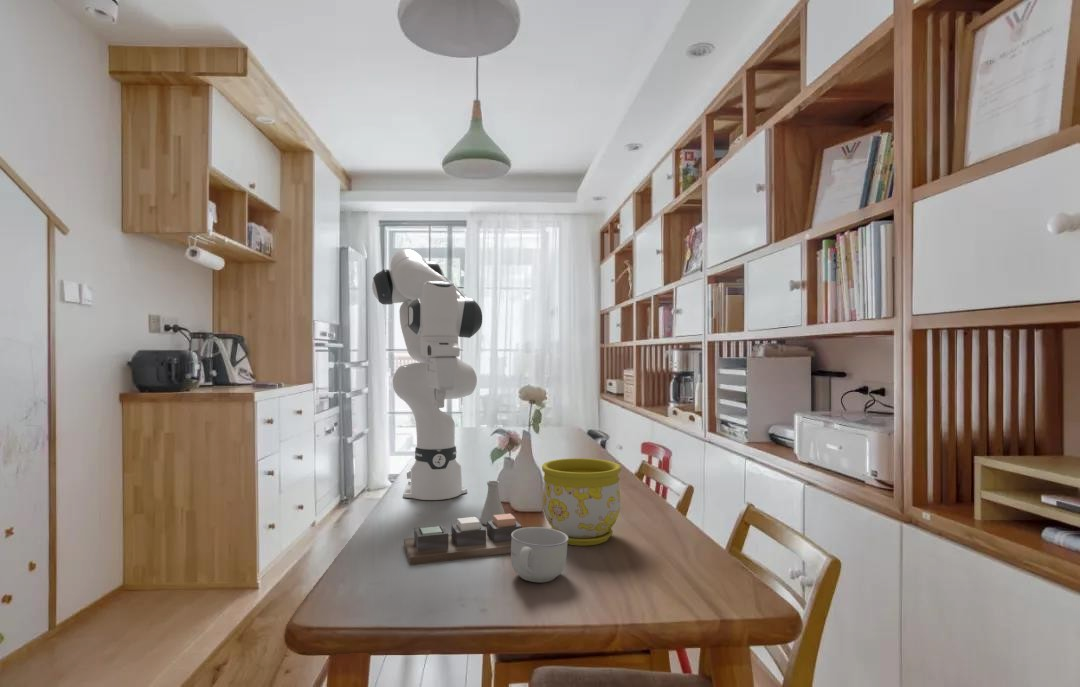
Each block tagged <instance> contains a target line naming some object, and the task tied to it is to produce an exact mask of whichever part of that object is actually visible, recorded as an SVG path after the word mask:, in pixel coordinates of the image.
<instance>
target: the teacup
mask: <svg viewBox="0 0 1080 687" xmlns="http://www.w3.org/2000/svg"><path fill="white" fill-rule="evenodd" d="M511 538H512V541H511V553H510V563H511V567H512V569H513V571H514V572H515V573H516V574H518V576H519V577H520V578H521V579H523V580H525V581H528V582H532V583H548V582H551V581H553V580H555V579H556V577H558V576H560V575H561V574H562V573H563V572H564V570H565V567H566V562H567V555H568V544H567V542H568V536H567V535H566V534H565V533H563V532H561V531H558V530H554V529H551V527H543V526H541V527H540V526H528V527H522V528H520V529H517V530H515V531H513V532H512V534H511Z"/></svg>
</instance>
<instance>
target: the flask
mask: <svg viewBox="0 0 1080 687" xmlns="http://www.w3.org/2000/svg"><path fill="white" fill-rule="evenodd" d="M486 484H487V494H486V498H485V502H484V505H483V508H482V511H481V512H480V513H481V514H480V517H479V519H478V520H479V522H480V523H481V525H484V526H487V521H492V520H493V515H500V514H506V513H505V509H504V508H503V504H502V501H501V498H500V492H499V485H500V481H499V480H488V481H486Z"/></svg>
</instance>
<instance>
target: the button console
mask: <svg viewBox="0 0 1080 687" xmlns="http://www.w3.org/2000/svg"><path fill="white" fill-rule="evenodd" d="M437 526H439V527H440V529H441V530H442V533H438V534H429V535H421V533H420V528H427V527H428V526H422V527H421V526H420V527H414V531H413V532H414V536H413V537H410V538H404V539H403V548H404V551H405V553H406V556H407V559H408V562H409V564H410V566H411V565H413V566H414V565H421V564H429V563H439V562H446V561H447V562H448V561H455V560H456V561H457V560H462V559H463V560H464V559H471V558H481V557H488V556H499V555H506V554H511V541H512V538H511V534H512V532H513V531H515V530H517V529H520V528H523V526H522V525H521V524H520V522H518V521H517V520H516V526H507V527H496V526H495V525H494V524H493V520H492V521H487V525H486V528H485V527H484V526H483V524H481V523H480V529H478V530H468V531H460V530H459V529H458V528H457V523H452V524H451V527H450V528H451V529H450V530H451V531H450V532H451V533H449V532H448V530H447V529H446V526H444V524H443V525H433V526H430V527H437Z"/></svg>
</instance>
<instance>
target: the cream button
mask: <svg viewBox="0 0 1080 687" xmlns="http://www.w3.org/2000/svg"><path fill="white" fill-rule="evenodd" d="M456 524H457V528H458V529H459V530H460V531H468V530H478V529H480V522H479V519H478V518H477V517H476V516H470V517H461V518H457V523H456Z"/></svg>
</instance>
